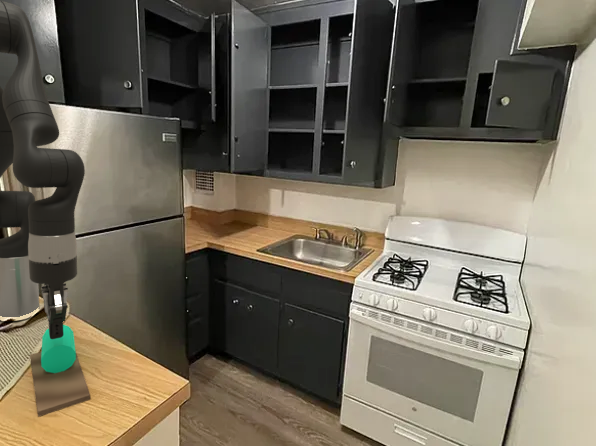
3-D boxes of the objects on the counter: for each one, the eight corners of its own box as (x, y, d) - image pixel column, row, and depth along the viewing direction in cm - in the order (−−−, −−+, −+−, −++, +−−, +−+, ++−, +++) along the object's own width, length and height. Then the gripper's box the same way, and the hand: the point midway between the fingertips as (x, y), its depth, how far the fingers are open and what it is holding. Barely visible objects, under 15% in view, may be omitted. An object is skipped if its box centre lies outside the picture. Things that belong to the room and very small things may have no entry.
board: (30, 358, 75) (29, 354, 75) (73, 348, 80) (73, 344, 80) (38, 416, 61) (37, 411, 60) (90, 399, 66) (90, 394, 66)
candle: (58, 339, 70) (57, 316, 79) (32, 364, 68) (35, 338, 77) (83, 354, 73) (79, 330, 82) (59, 378, 71) (58, 350, 80)
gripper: (26, 246, 68) (30, 326, 72) (31, 268, 58) (35, 359, 62) (71, 243, 73) (73, 318, 76) (82, 262, 63) (84, 347, 67)
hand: (56, 336), depth 69 cm, fingers closed
